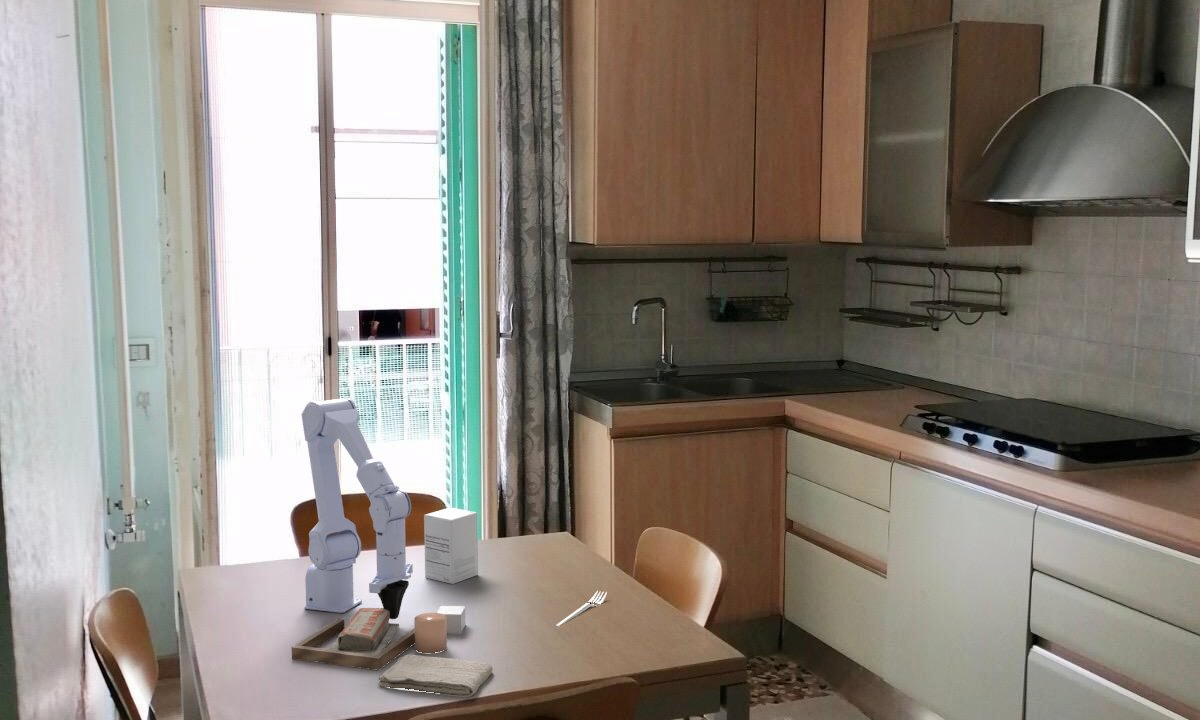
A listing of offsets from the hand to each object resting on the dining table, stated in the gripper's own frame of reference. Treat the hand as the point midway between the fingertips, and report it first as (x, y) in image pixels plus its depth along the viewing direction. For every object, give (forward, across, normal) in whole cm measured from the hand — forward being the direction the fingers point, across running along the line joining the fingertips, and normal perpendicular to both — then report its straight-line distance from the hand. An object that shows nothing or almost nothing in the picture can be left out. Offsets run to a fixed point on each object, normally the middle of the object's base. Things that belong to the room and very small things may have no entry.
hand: (392, 617), depth 226 cm
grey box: (+2, +2, -12) cm, 12 cm away
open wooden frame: (+2, -13, 0) cm, 13 cm away
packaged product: (+2, -10, +1) cm, 10 cm away
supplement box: (+2, +34, +3) cm, 34 cm away
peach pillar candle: (+2, -9, -13) cm, 16 cm away
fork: (+2, +20, -33) cm, 39 cm away
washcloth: (+2, -23, -21) cm, 31 cm away
